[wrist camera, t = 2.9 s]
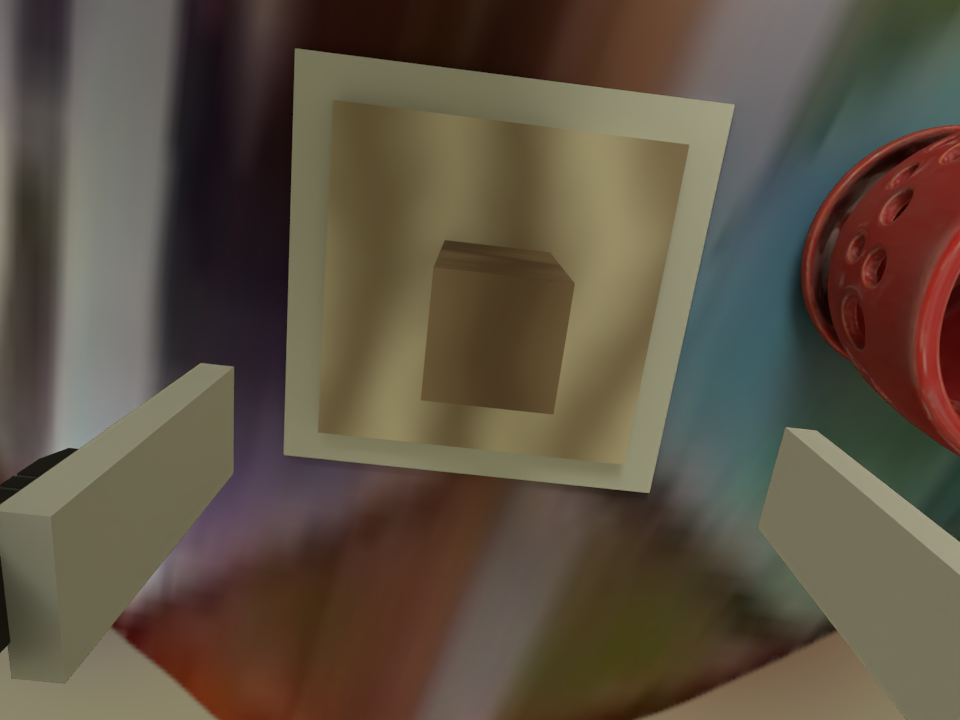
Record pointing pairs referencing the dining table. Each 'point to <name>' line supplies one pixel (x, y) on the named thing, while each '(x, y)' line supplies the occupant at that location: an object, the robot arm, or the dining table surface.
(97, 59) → the dining table surface
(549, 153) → the lid
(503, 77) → the mat
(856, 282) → the plant pot
